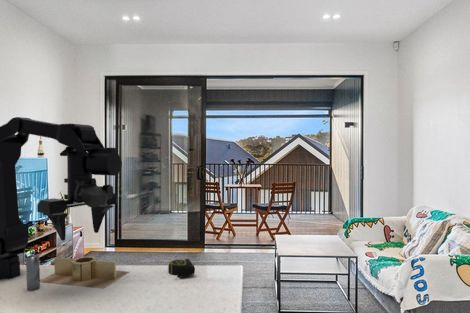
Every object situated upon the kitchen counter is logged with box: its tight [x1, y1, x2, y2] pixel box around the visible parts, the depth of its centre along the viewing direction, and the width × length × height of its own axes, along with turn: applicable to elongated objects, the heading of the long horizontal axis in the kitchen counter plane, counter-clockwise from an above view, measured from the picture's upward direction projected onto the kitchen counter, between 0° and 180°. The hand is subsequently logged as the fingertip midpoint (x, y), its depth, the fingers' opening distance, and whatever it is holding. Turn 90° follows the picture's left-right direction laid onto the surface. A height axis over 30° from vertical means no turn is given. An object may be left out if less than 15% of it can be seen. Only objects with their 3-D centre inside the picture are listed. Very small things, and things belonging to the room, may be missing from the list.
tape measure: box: [167, 258, 196, 278], centre depth 99 cm, size 7×7×4 cm
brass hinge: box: [53, 255, 117, 281], centre depth 96 cm, size 19×6×4 cm, turn 76°
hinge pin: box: [25, 254, 41, 292], centre depth 88 cm, size 3×3×9 cm
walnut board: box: [40, 270, 130, 289], centre depth 96 cm, size 20×12×1 cm, turn 76°
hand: (80, 236), depth 90 cm, fingers open, 9 cm apart
